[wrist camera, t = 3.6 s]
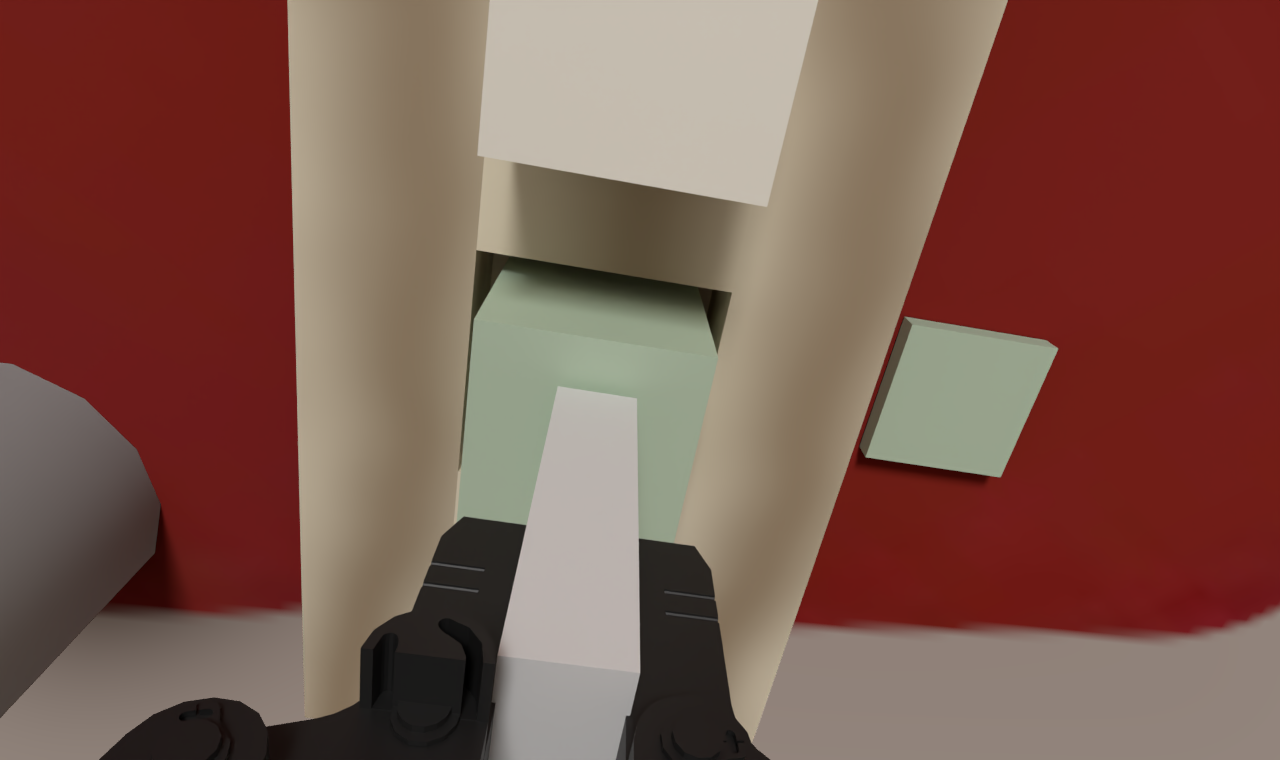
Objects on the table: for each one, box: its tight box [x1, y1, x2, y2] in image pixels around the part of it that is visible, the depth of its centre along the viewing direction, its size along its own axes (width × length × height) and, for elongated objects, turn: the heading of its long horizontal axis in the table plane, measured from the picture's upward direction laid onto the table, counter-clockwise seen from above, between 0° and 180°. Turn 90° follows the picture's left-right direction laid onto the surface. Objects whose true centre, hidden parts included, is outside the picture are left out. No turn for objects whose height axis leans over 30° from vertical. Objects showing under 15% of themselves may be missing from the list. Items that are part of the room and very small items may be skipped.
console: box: [288, 0, 1008, 743], centre depth 18 cm, size 13×24×3 cm, turn 170°
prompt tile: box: [859, 317, 1058, 477], centre depth 20 cm, size 4×4×1 cm
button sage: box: [457, 256, 718, 543], centre depth 16 cm, size 4×4×4 cm
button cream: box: [477, 0, 818, 207], centre depth 12 cm, size 4×4×4 cm
